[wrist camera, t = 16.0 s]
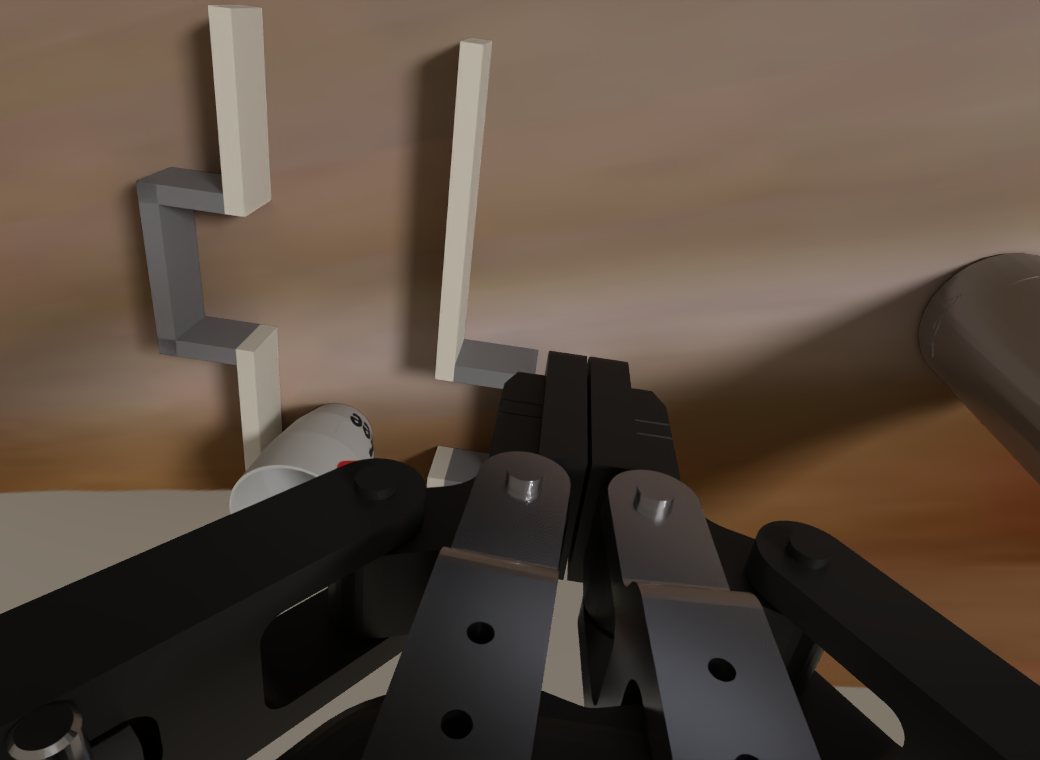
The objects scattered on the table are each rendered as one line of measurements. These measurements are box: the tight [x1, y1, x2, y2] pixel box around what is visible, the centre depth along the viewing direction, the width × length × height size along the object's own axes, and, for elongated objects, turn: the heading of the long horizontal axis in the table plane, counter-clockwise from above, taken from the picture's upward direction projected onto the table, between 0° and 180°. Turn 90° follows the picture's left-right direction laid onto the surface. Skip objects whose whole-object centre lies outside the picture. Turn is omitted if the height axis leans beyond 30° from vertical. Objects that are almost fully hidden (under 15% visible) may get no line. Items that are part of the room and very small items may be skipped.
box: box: [136, 5, 538, 488], centre depth 47 cm, size 25×39×4 cm, turn 173°
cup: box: [229, 404, 374, 514], centre depth 49 cm, size 8×8×10 cm
